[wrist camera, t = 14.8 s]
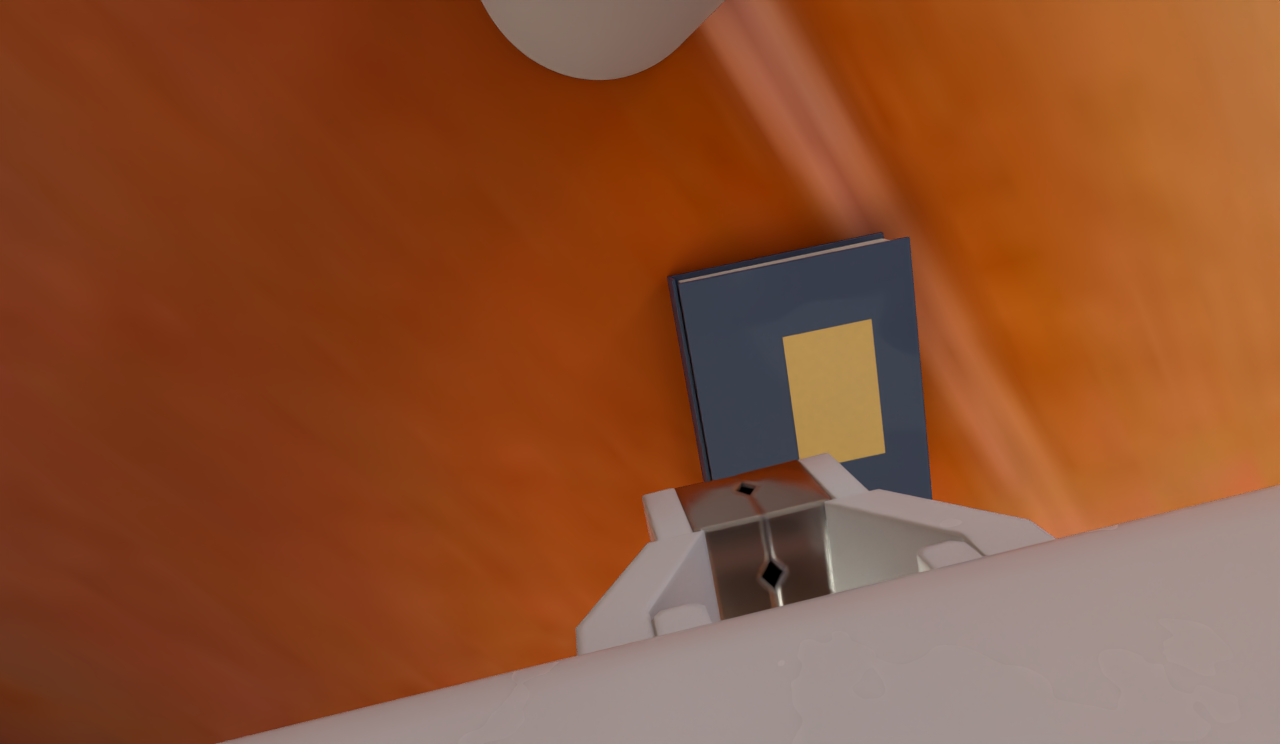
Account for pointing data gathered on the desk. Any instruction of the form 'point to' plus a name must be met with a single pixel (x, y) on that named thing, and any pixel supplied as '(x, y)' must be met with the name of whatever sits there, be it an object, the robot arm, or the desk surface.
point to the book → (726, 269)
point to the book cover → (813, 366)
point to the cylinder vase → (598, 32)
